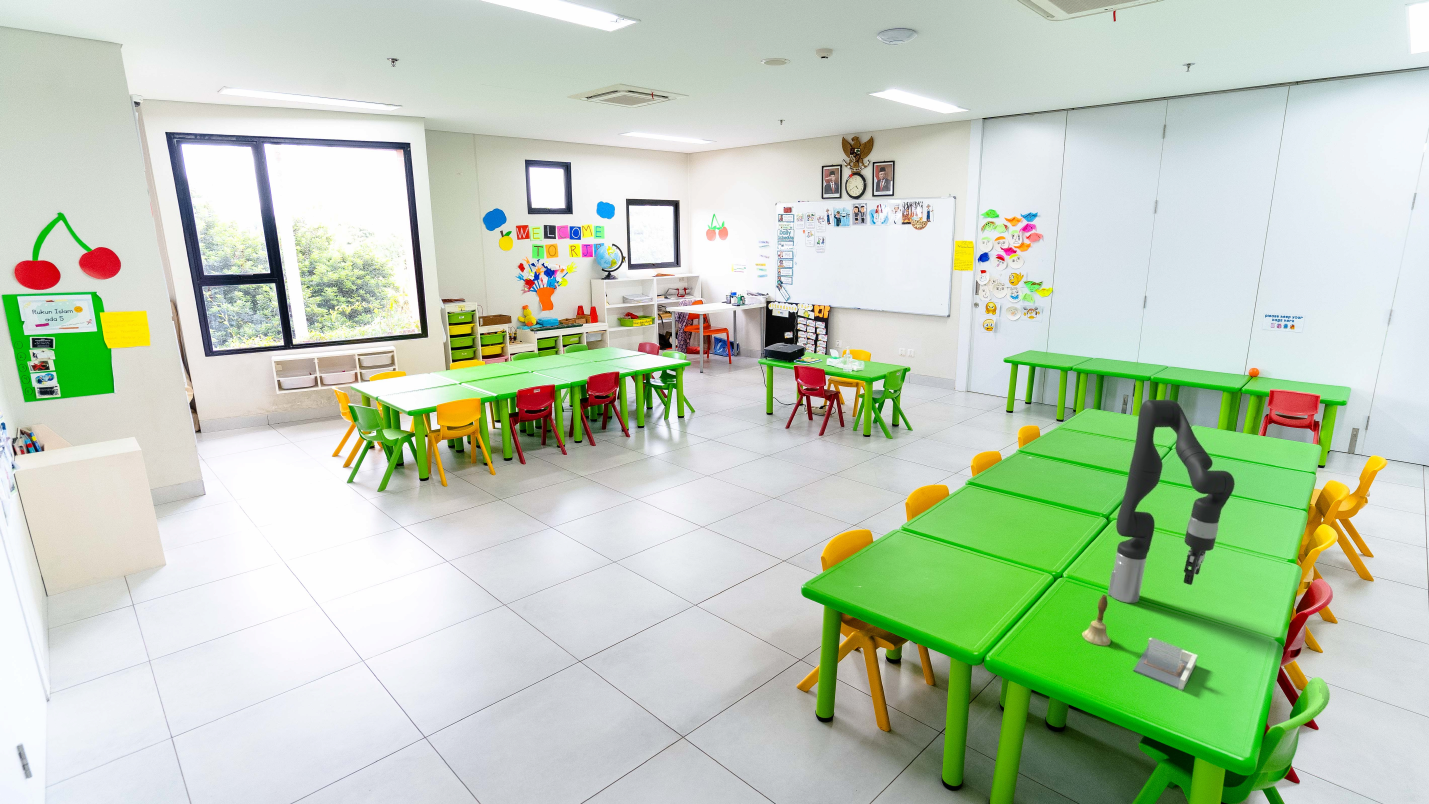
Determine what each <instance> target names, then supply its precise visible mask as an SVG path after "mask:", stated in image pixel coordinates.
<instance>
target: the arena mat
mask: <svg viewBox="0 0 1429 804" xmlns="http://www.w3.org/2000/svg"><path fill="white" fill-rule="evenodd" d="M1148 651H1149V648H1148V647H1147V646H1146V649H1145V650H1144V651H1143V654H1142V655H1141V657H1140V658H1139V659H1138V661H1137V663H1136V665H1135V666H1134V668H1133V670H1132V672H1134V673H1137V674H1140V675H1142V676H1143V677H1147V678H1149V679H1152V680H1154V681H1157V682H1159V683H1162V684H1164V685H1167V686H1169V687H1172V688H1174V689H1177V690H1179V689H1178V687H1179V682H1180V678H1181V676H1182V674H1183V672H1184V670H1185V668H1186V666H1187V665H1188V662H1186V661H1183V660H1180V661H1182V665H1181V667H1180V668H1179V670H1178V672H1177V674H1173V673H1171V672H1168V671H1166V670H1163V669H1160V668H1158V667H1155V666H1153V665H1150V664H1148V663H1146V661H1147V656H1148ZM1195 667H1196V665H1195V666H1194V668H1195ZM1194 668H1193V670H1194ZM1191 675H1192V673H1191V674H1190V676H1191ZM1189 679H1190V677H1189V678H1188V680H1187V682H1189ZM1187 682H1186V684H1185V686H1184V688H1185V687H1186V686H1187ZM1183 691H1184V689H1183V690H1182V692H1183Z"/></svg>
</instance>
